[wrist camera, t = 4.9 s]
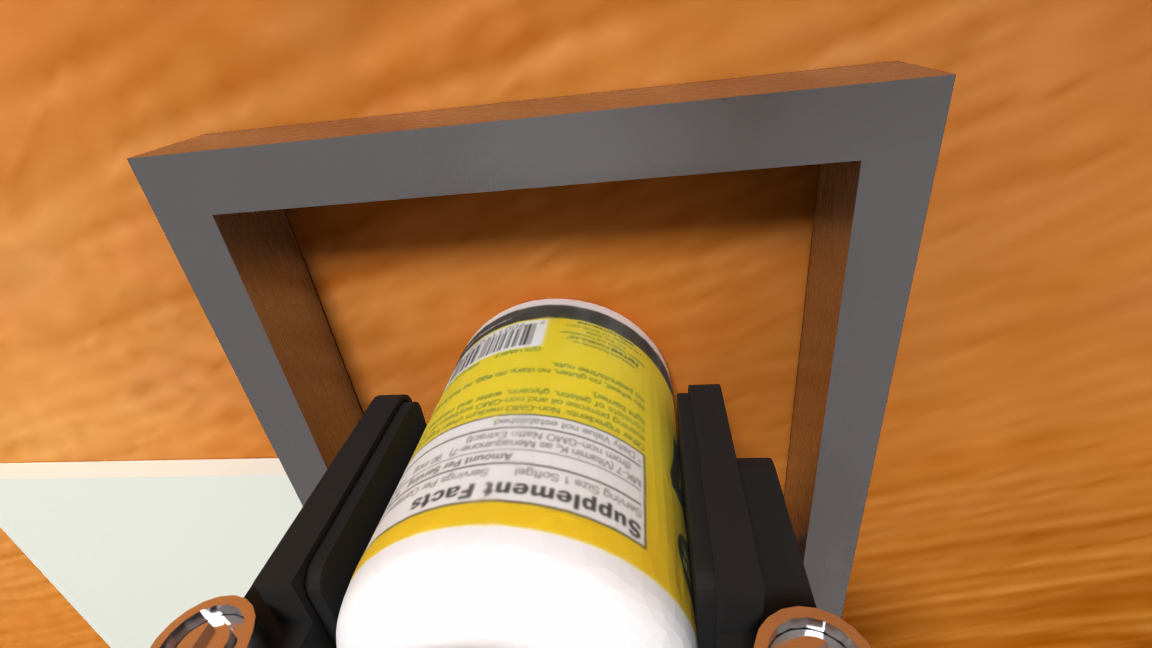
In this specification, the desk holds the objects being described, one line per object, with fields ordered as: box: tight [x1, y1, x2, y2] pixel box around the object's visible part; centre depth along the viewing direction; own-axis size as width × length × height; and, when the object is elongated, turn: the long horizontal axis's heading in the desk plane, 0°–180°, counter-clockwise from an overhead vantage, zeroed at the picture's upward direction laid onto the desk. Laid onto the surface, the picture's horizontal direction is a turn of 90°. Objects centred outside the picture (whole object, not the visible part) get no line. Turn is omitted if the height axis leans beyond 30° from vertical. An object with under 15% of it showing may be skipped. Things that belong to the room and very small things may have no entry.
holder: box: [127, 61, 956, 618], centre depth 12 cm, size 12×12×2 cm
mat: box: [0, 458, 303, 648], centre depth 17 cm, size 10×10×1 cm
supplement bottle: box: [336, 299, 698, 648], centre depth 9 cm, size 5×5×8 cm
